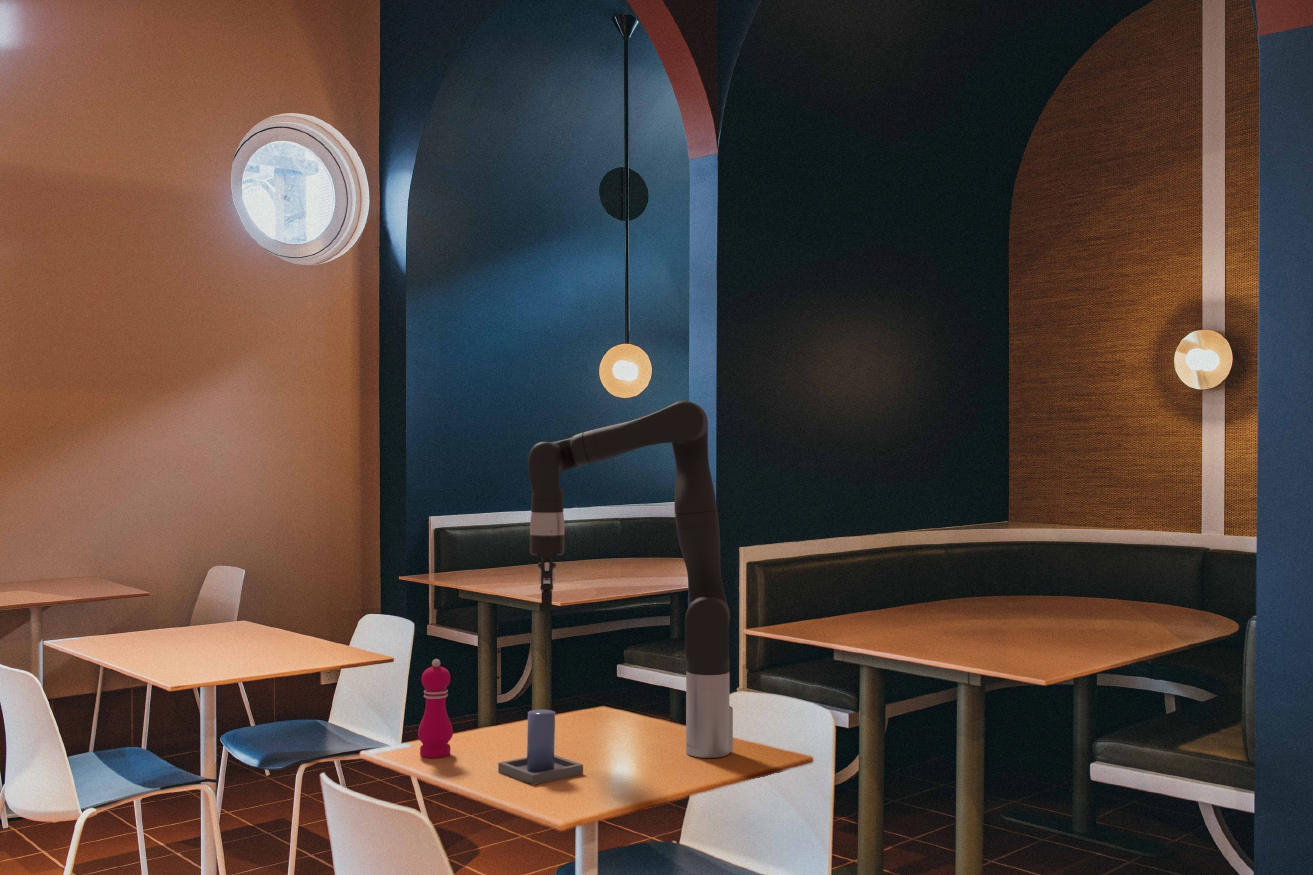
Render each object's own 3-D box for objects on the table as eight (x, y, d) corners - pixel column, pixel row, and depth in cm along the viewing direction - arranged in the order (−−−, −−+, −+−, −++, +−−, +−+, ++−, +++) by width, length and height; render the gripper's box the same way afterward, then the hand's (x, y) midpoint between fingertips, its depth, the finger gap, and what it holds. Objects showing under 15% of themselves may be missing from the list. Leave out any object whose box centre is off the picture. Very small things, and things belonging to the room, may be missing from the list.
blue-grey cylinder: (543, 763, 218) (544, 708, 218) (559, 768, 214) (560, 712, 214) (521, 767, 214) (522, 711, 214) (537, 773, 210) (538, 716, 210)
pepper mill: (459, 752, 229) (460, 657, 230) (438, 760, 223) (440, 662, 224) (431, 748, 232) (432, 655, 233) (410, 756, 226) (411, 660, 227)
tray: (548, 761, 222) (548, 752, 222) (583, 773, 213) (583, 764, 213) (498, 771, 214) (498, 762, 214) (532, 784, 205) (532, 775, 205)
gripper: (564, 534, 230) (564, 611, 229) (564, 531, 244) (563, 603, 244) (529, 534, 229) (528, 611, 229) (530, 531, 244) (530, 603, 243)
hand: (546, 607), depth 236 cm, fingers open, 8 cm apart
